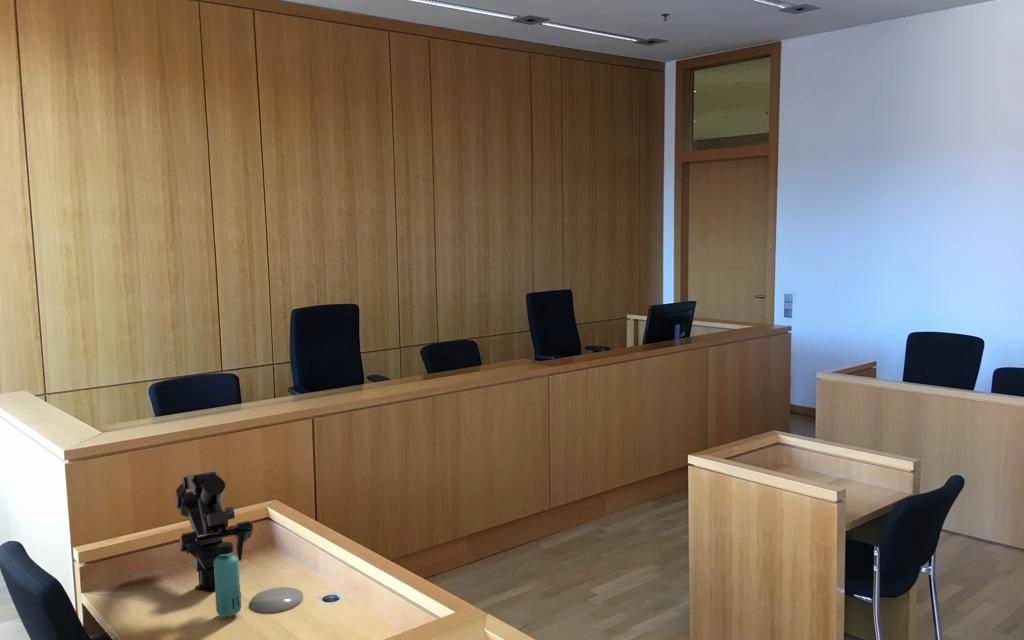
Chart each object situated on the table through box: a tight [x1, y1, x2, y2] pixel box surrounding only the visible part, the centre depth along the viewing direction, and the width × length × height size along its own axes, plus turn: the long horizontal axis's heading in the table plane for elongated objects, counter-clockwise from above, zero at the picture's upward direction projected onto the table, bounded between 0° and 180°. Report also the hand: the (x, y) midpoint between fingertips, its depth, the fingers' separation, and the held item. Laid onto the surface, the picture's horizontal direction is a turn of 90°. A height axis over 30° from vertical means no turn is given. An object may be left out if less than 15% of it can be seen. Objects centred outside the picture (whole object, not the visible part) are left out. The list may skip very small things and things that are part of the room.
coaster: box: [250, 586, 304, 614], centre depth 229 cm, size 14×14×1 cm
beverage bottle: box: [213, 541, 242, 617], centre depth 219 cm, size 6×7×20 cm
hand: (222, 564), depth 223 cm, fingers open, 9 cm apart
